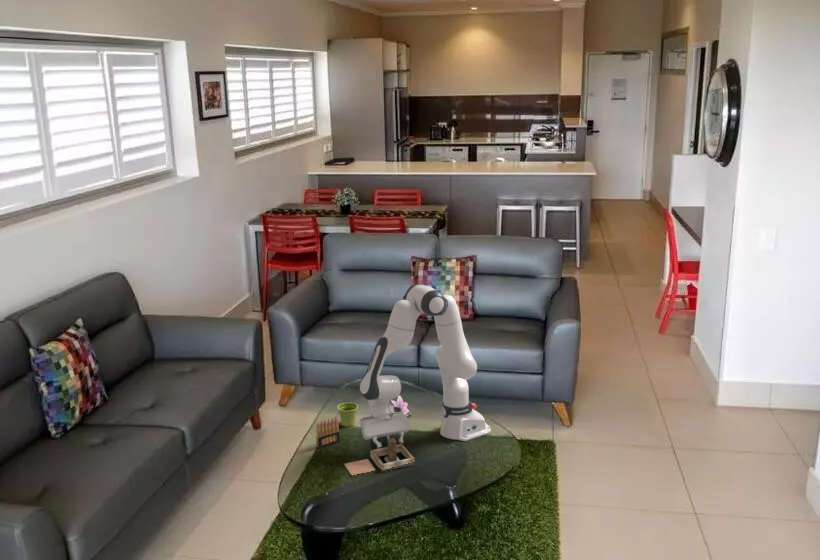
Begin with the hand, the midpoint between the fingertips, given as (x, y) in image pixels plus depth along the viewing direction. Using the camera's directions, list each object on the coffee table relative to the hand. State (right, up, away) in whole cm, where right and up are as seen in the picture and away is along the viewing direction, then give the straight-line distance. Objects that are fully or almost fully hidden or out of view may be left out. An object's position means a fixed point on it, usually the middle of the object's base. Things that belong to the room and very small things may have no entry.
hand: (390, 445), depth 304 cm
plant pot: (-20, +2, +36) cm, 41 cm away
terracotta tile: (-12, -8, -4) cm, 15 cm away
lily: (+4, +3, +42) cm, 42 cm away
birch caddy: (+1, -7, +1) cm, 7 cm away
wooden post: (+1, -7, +1) cm, 7 cm away
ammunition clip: (-27, -4, +16) cm, 32 cm away
